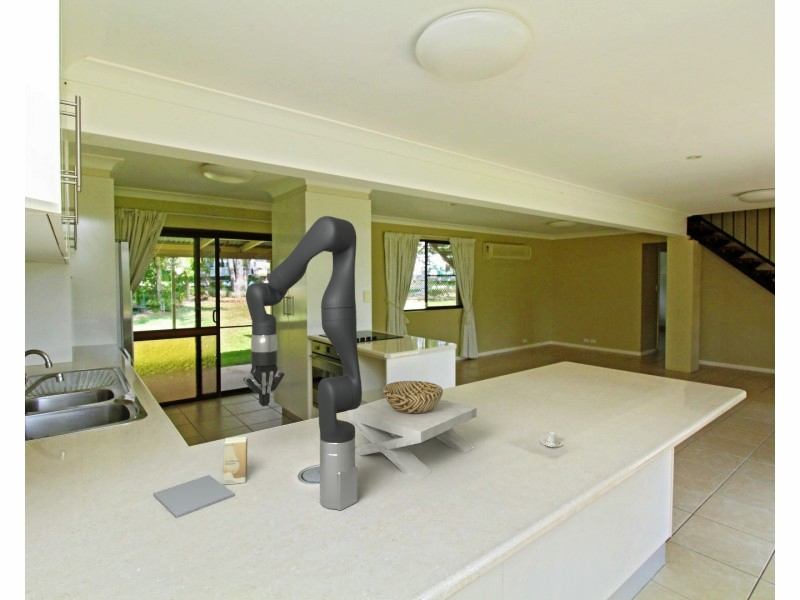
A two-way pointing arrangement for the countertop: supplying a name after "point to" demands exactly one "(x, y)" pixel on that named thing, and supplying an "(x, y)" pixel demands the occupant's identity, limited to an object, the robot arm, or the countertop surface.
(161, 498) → the mat
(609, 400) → the countertop surface
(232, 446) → the skincare box
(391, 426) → the wicker basket on stand
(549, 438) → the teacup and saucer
